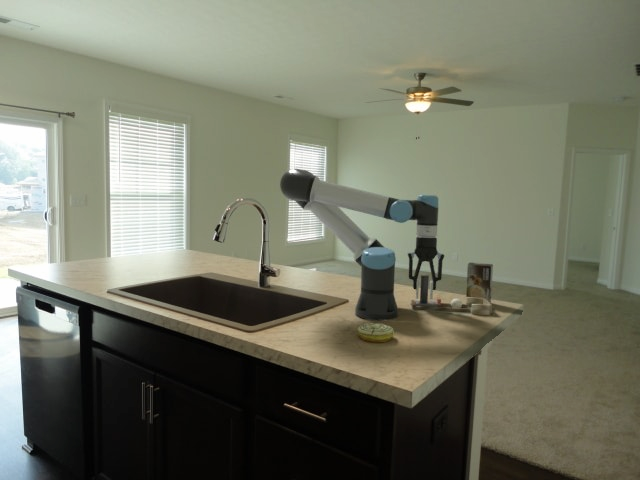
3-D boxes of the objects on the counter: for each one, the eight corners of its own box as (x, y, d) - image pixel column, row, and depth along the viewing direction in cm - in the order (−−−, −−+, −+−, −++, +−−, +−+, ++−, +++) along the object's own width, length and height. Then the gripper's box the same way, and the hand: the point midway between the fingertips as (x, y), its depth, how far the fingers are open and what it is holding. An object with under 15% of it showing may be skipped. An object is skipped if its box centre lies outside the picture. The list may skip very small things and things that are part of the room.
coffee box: (491, 303, 181) (494, 264, 180) (489, 307, 176) (492, 266, 174) (467, 300, 185) (470, 262, 184) (465, 304, 180) (467, 264, 178)
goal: (471, 314, 164) (472, 304, 163) (465, 305, 175) (466, 297, 175) (491, 315, 163) (492, 305, 162) (484, 306, 174) (485, 298, 174)
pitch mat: (412, 311, 167) (412, 310, 167) (410, 304, 178) (410, 303, 178) (491, 315, 163) (491, 314, 163) (484, 307, 174) (484, 307, 174)
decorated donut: (379, 331, 143) (379, 319, 142) (400, 341, 133) (400, 328, 133) (351, 335, 138) (351, 323, 138) (370, 346, 128) (371, 333, 128)
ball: (451, 310, 168) (452, 299, 168) (449, 307, 172) (450, 297, 172) (462, 310, 168) (463, 300, 167) (460, 308, 172) (461, 297, 171)
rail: (412, 309, 168) (412, 304, 168) (411, 304, 176) (411, 299, 176) (470, 312, 166) (470, 307, 165) (466, 307, 173) (466, 302, 173)
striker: (415, 307, 170) (417, 276, 168) (415, 304, 174) (416, 274, 173) (440, 309, 168) (442, 277, 167) (439, 306, 173) (440, 275, 172)
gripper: (403, 236, 166) (400, 299, 169) (452, 238, 164) (449, 301, 166) (402, 234, 174) (399, 294, 176) (449, 236, 171) (446, 297, 174)
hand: (423, 297), depth 171 cm, fingers open, 4 cm apart
